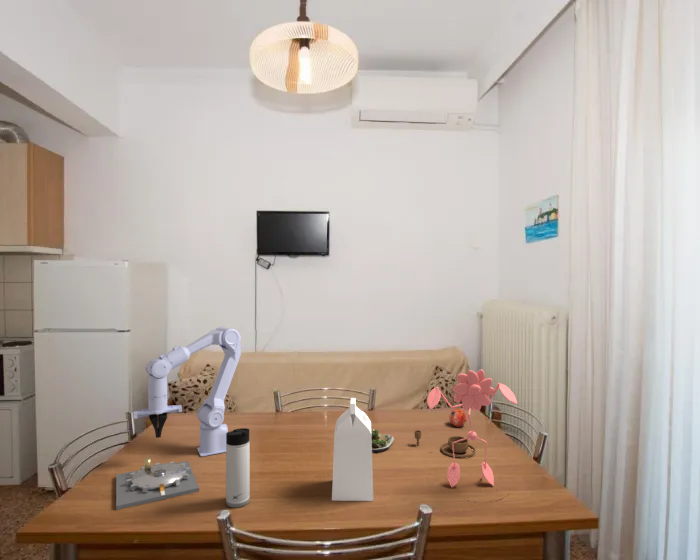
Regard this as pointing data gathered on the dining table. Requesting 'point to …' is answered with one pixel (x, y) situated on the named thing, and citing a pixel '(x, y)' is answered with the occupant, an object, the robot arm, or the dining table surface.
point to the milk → (352, 456)
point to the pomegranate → (458, 417)
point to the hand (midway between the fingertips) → (158, 436)
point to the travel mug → (237, 468)
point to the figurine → (472, 394)
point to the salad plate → (380, 441)
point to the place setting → (458, 446)
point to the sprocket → (158, 476)
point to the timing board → (139, 497)
